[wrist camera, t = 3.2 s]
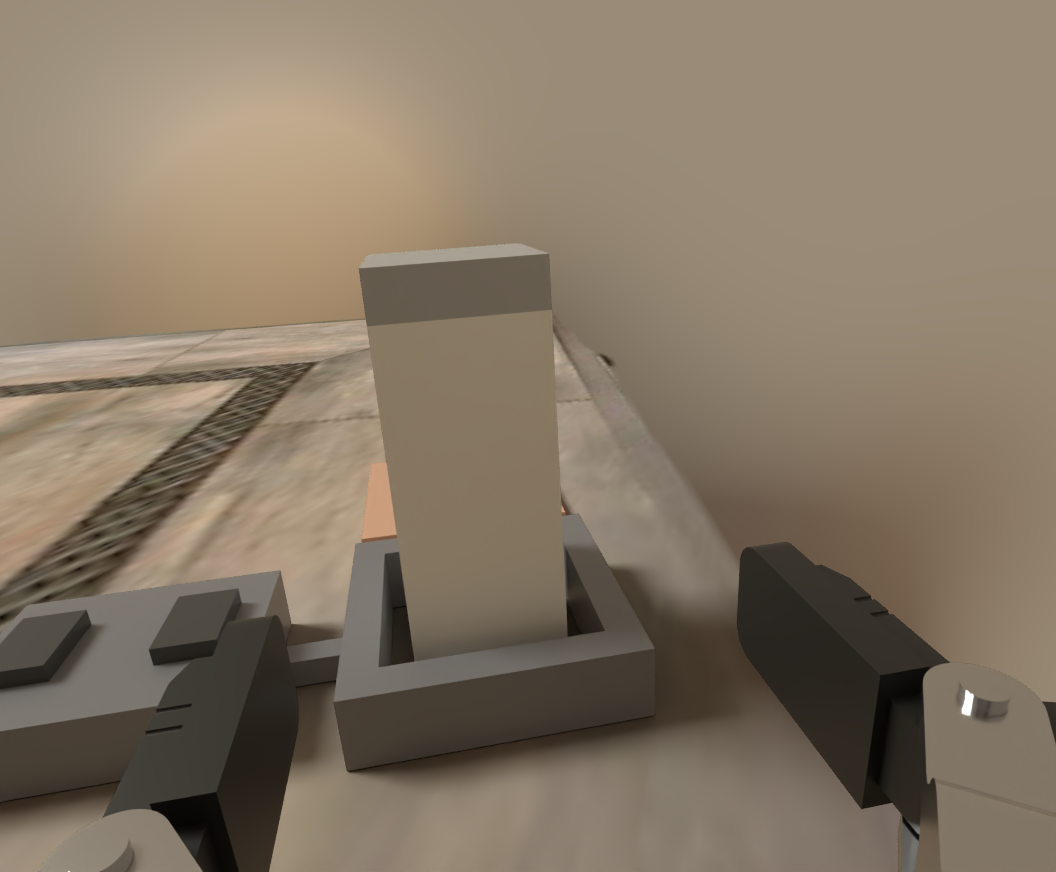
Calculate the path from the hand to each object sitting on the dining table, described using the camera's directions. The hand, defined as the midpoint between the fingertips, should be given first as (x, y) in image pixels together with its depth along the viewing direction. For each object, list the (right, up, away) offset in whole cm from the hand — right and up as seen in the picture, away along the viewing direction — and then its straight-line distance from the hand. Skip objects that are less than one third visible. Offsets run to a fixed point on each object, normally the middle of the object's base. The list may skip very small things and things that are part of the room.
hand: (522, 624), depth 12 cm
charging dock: (-7, -5, +12) cm, 15 cm away
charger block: (-1, -5, +13) cm, 14 cm away
